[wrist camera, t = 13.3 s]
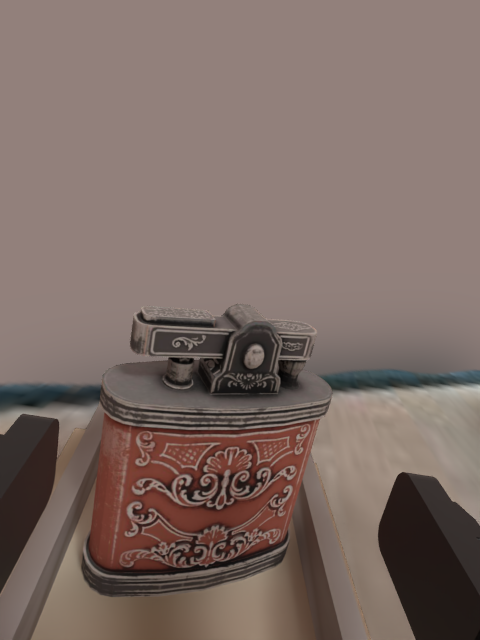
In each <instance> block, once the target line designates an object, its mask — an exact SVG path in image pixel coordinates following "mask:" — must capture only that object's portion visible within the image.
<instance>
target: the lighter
mask: <svg viewBox="0 0 480 640" xmlns="http://www.w3.org/2000/svg"><path fill="white" fill-rule="evenodd" d="M316 335H317V331H316V330H315V329H314V328H313V327H311V326H310V325H308V324H306V323H303V322H299V321H289V320H272V319H266V318H265V317H264V316H263V315H261V314H260V313H259V312H258V311H257V310H256V309H255V308H253V307H252V306H250V305H244V304H236V305H233V306H231V307H229V308H228V309H227V310H226V312H225V313H224V314H223V315H221V316H212V315H211V313H210V312H209V311H208V310H196V309H195V310H194V309H181V308H166V307H152V306H151V307H150V306H144V307H141V312H136V313H134V318H133V325H132V333H131V341H130V347H131V349H132V351H133V352H134V353H136V354H137V355H141V356H149V357H169V358H168V360H167V361H152V362H138V363H126V364H120V365H116V366H114V367H112V368H109V369H108V370H107V371H106V372H105V373H104V374H103V377H102V385H101V394H100V406H101V408H102V410H103V412H104V419H103V428H102V437H101V445H100V454H99V463H98V471H97V480H96V489H95V498H94V506H93V515H92V524H91V530H90V531H89V533H88V535H87V537H86V538H85V541H84V549H83V557H82V566H81V571H82V575H83V578H84V581H85V582H86V584H87V585H88V586H89V588H90V589H91V590H93V591H95V592H96V593H98V594H99V595H102V596H108V597H156V596H166V595H174V594H182V593H190V592H198V591H204V590H208V589H212V588H216V587H219V586H223V585H227V584H231V583H235V582H238V581H242V580H245V579H247V578H250V577H252V576H255V575H257V574H260V573H262V572H265V571H267V570H270V569H272V568H275V567H276V566H278V565H279V564H280V563H282V561H283V559H284V557H285V554H286V551H287V547H288V544H289V541H290V530H289V524H290V520H291V517H292V513H293V510H294V506H295V503H296V499H297V496H298V493H299V489H300V486H301V482H302V479H303V475H304V472H305V468H306V465H307V461H308V458H309V455H310V451H311V448H312V444H313V441H314V437H315V434H316V430H317V427H318V424H319V420H320V418H322V417H325V415H326V413H327V411H328V408H329V405H330V401H331V398H332V394H333V393H332V388H331V387H330V386H329V385H328V383H327V382H326V381H324V380H323V379H322V378H320V377H319V376H317V375H315V374H313V373H311V372H309V371H306V370H303V368H304V366H305V363H306V360H309V359H310V357H311V353H312V350H313V346H314V342H315V338H316ZM193 358H200V360H194V359H193Z"/></svg>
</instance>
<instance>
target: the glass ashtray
mask: <svg viewBox="0 0 480 640" xmlns="http://www.w3.org/2000/svg"><path fill="white" fill-rule="evenodd" d="M103 419H104V412H103V410H102V408H101V406H100V403H99V405H98V407H97V409H96V411H95V413H94V415H93V417H92V419H91V421H90V423H89V425H88V427H87V428H86V429H79V428H75V429H74V431H73V433H72V435H71V436H70V438H69V440H68V442H67V444H66V445H65V447H64V449H63V451H62V452H61V454H60V456H59V458H58V460H57V461H56V472H55V480H54V485H53V489H52V493H51V496H50V499H49V501H48V504H47V506H46V508H45V510H44V512H43V514H42V515H41V517H40V519H39V521H38V523H37V525H36V527H35V529H34V531H33V533H32V534H31V536H30V538H29V540H28V542H27V544H26V546H25V548H24V550H23V552H22V554H21V555H20V557H19V559H18V561H17V563H16V565H15V567H14V569H13V571H12V573H11V575H10V576H9V578H8V580H7V582H6V584H5V586H4V588H3V590H2V592H1V594H0V640H371V638H370V635H369V632H368V628H367V625H366V622H365V619H364V616H363V612H362V609H361V606H360V603H359V600H358V596H357V593H356V590H355V587H354V583H353V580H352V577H351V574H350V571H349V567H348V564H347V561H346V558H345V554H344V551H343V548H342V545H341V542H340V538H339V535H338V532H337V529H336V526H335V522H334V519H333V516H332V513H331V509H330V506H329V503H328V500H327V497H326V493H325V490H324V487H323V484H322V481H321V477H320V474H319V471H318V468H317V464H316V463H314V461H313V458H312V455H311V451H310V455H309V458H308V461H307V465H306V468H305V472H304V475H303V479H302V482H301V486H300V489H299V493H298V496H297V499H296V503H295V506H294V510H293V513H292V517H291V520H290V524H289V530H290V541H289V544H288V547H287V551H286V554H285V557H284V559H283V561H282V563H280V564H279V565H278V566H276V567H275V568H272V569H270V570H267V571H265V572H262V573H260V574H257V575H255V576H252V577H250V578H247V579H245V580H242V581H238V582H235V583H231V584H227V585H223V586H219V587H216V588H212V589H208V590H204V591H198V592H190V593H182V594H174V595H166V596H156V597H108V596H102V595H99V594H98V593H96V592H95V591H93V590H91V589H90V588H89V586H88V585H87V584H86V582H85V581H84V578H83V575H82V571H81V566H82V557H83V549H84V541H85V538H86V537H87V535H88V533H89V531H90V530H91V524H92V515H93V506H94V498H95V489H96V480H97V471H98V463H99V454H100V445H101V437H102V428H103Z"/></svg>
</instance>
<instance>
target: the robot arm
mask: <svg viewBox="0 0 480 640" xmlns="http://www.w3.org/2000/svg"><path fill="white" fill-rule="evenodd" d="M58 434H59V421H58V419H54V418H47V417H40V416H34V415H27V414H22V415H20V417H19V418H18V419H17V420H16V421H15V422H14V424H13V425H12V426H11V427H10V429H9V430H8V431H7V432H6V433H5V435H1V434H0V594H1V592H2V590H3V588H4V586H5V584H6V582H7V580H8V578H9V576H10V575H11V573H12V571H13V569H14V567H15V565H16V563H17V561H18V559H19V557H20V555H21V554H22V552H23V550H24V548H25V546H26V544H27V542H28V540H29V538H30V536H31V534H32V533H33V531H34V529H35V527H36V525H37V523H38V521H39V519H40V517H41V515H42V514H43V512H44V510H45V508H46V506H47V504H48V501H49V499H50V496H51V493H52V489H53V485H54V480H55V472H56V459H57V447H58ZM378 541H379V547H380V551H381V554H382V556H383V559H384V561H385V564H386V566H387V569H388V571H389V574H390V576H391V579H392V581H393V584H394V586H395V589H396V591H397V594H398V596H399V599H400V601H401V604H402V606H403V609H404V611H405V614H406V616H407V619H408V621H409V624H410V626H411V629H412V631H413V634H414V636H415V639H416V640H480V526H479V524H478V523H477V521H476V520H475V519H474V518H473V517H472V516H471V515H470V514H468V513H467V512H466V511H465V510H464V509H463V508H462V507H461V506H459V505H458V504H457V503H456V502H452V501H451V499H450V498H449V496H448V495H447V493H446V492H445V490H444V489H443V487H442V486H441V484H440V483H439V481H438V480H437V479H436V478H434V477H431V476H425V475H418V474H411V473H405V472H402V473H400V474H399V475H398V476H397V478H396V480H395V483H394V485H393V488H392V491H391V494H390V496H389V499H388V502H387V504H386V507H385V510H384V513H383V515H382V518H381V521H380V524H379V530H378Z"/></svg>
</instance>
